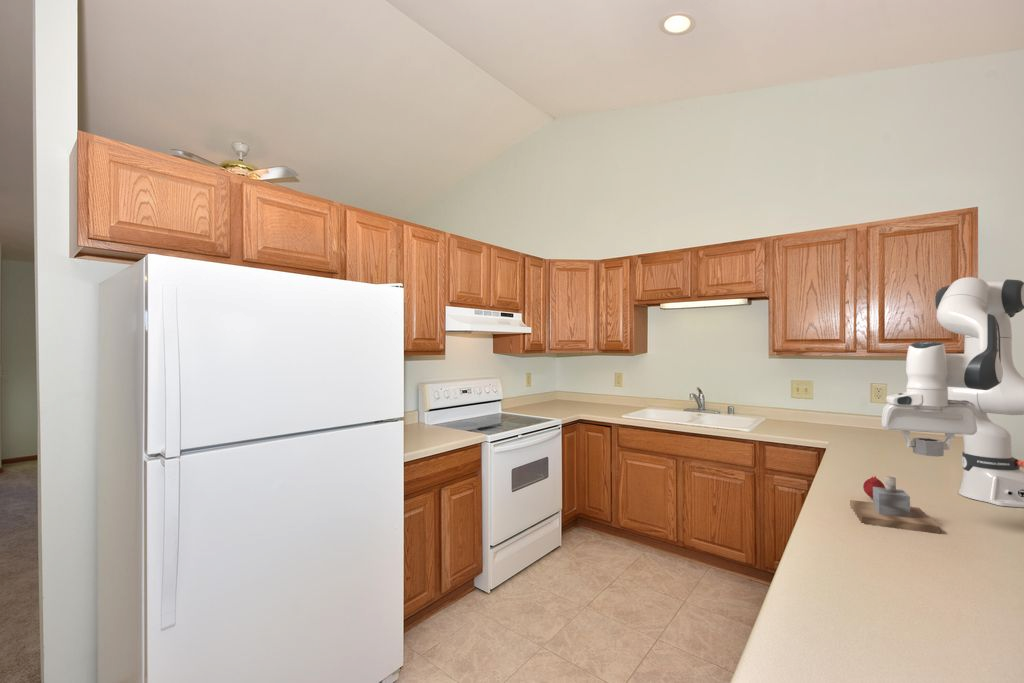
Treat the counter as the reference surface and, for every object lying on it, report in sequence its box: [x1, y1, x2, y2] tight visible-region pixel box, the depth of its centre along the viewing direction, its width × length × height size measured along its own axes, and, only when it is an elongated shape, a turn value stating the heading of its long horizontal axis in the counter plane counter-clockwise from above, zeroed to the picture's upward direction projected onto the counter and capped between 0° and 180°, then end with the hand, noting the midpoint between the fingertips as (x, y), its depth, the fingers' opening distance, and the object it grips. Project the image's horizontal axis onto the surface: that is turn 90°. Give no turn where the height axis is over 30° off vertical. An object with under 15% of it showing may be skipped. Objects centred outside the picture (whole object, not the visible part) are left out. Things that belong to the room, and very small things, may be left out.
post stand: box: [849, 476, 941, 534], centre depth 136 cm, size 17×16×12 cm
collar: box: [912, 437, 945, 457], centre depth 131 cm, size 6×6×4 cm
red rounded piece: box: [862, 474, 885, 500], centre depth 153 cm, size 6×6×8 cm
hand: (927, 448), depth 131 cm, fingers closed on collar, 6 cm apart
